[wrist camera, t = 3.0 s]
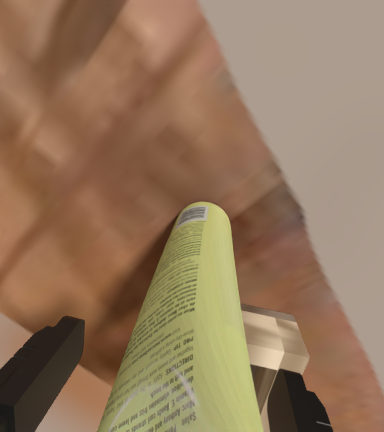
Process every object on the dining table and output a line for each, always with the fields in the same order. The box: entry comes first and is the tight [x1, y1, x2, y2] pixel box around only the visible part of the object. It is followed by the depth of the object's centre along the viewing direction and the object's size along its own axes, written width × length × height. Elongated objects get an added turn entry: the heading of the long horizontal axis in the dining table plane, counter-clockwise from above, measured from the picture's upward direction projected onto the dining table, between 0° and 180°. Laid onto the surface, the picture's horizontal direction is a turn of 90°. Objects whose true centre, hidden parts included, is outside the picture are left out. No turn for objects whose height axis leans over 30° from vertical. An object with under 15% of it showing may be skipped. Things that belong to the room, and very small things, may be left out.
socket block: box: [240, 304, 310, 432], centre depth 25 cm, size 11×12×5 cm
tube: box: [97, 202, 264, 432], centre depth 14 cm, size 6×5×20 cm
